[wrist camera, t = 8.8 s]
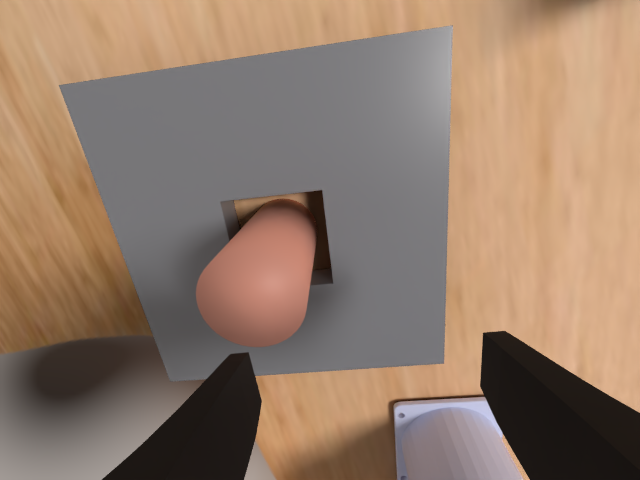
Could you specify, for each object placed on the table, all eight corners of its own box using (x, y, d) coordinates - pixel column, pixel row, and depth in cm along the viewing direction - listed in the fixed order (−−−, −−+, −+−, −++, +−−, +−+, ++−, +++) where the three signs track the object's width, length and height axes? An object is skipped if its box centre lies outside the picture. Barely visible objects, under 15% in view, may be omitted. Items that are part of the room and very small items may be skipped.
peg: (321, 257, 19) (313, 343, 11) (259, 263, 19) (211, 350, 12) (312, 195, 17) (298, 244, 10) (246, 202, 18) (182, 256, 10)
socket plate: (433, 342, 21) (443, 363, 19) (184, 360, 22) (170, 381, 20) (437, 39, 14) (452, 25, 13) (91, 90, 16) (58, 85, 14)
